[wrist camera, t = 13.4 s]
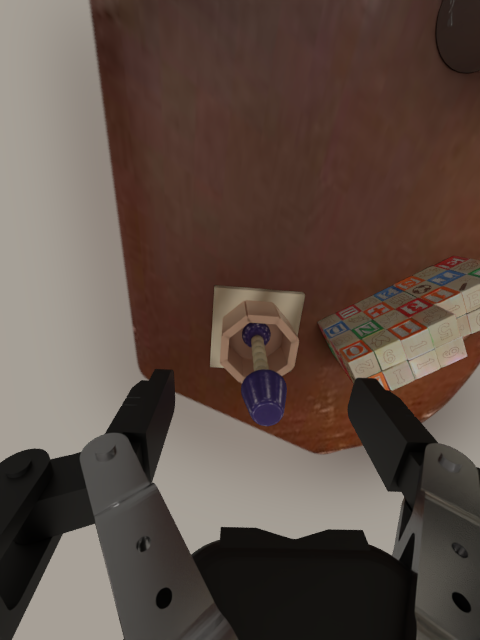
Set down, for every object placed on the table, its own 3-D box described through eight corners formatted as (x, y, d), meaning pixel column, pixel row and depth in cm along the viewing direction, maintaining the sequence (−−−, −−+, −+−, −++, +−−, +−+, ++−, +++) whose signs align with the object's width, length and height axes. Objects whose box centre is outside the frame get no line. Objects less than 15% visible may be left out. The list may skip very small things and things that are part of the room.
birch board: (303, 292, 39) (305, 294, 38) (289, 367, 44) (290, 371, 43) (214, 285, 39) (214, 287, 37) (210, 362, 43) (209, 366, 42)
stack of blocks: (453, 253, 38) (548, 271, 27) (461, 290, 40) (553, 321, 29) (315, 322, 41) (347, 363, 30) (330, 352, 44) (365, 402, 32)
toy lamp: (255, 354, 41) (271, 442, 25) (231, 337, 39) (232, 418, 24) (276, 331, 39) (306, 409, 24) (252, 313, 38) (267, 383, 23)
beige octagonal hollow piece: (293, 303, 39) (303, 318, 33) (282, 363, 42) (290, 385, 37) (224, 298, 38) (223, 313, 33) (219, 359, 42) (218, 381, 36)
